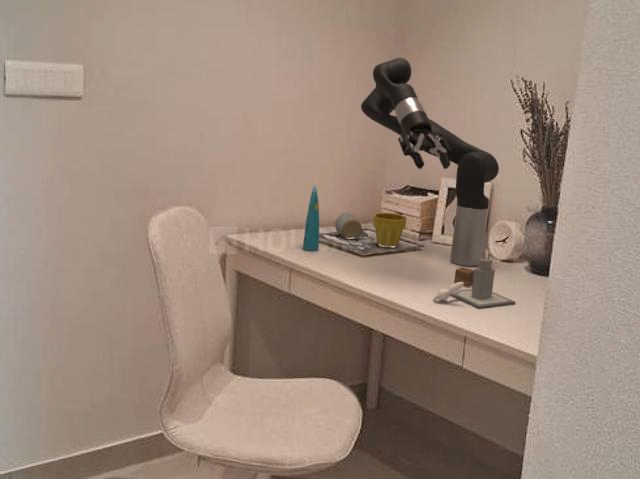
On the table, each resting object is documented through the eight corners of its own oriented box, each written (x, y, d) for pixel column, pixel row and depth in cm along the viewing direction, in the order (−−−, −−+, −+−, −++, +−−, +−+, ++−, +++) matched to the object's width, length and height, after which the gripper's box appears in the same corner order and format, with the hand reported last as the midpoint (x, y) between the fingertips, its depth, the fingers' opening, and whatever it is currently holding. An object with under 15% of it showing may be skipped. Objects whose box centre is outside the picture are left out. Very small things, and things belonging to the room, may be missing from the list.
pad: (482, 290, 187) (482, 287, 187) (515, 304, 177) (515, 301, 177) (446, 294, 182) (447, 291, 181) (478, 308, 171) (479, 306, 171)
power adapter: (492, 296, 180) (498, 250, 177) (480, 300, 176) (486, 253, 174) (482, 293, 182) (488, 247, 179) (469, 296, 179) (475, 250, 176)
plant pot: (405, 250, 224) (408, 220, 222) (372, 248, 224) (375, 218, 222) (401, 243, 234) (404, 214, 232) (370, 241, 234) (373, 211, 232)
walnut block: (461, 281, 195) (463, 267, 194) (474, 284, 192) (476, 270, 191) (454, 283, 192) (455, 269, 191) (467, 287, 189) (468, 273, 188)
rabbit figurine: (429, 297, 178) (458, 284, 179) (437, 311, 177) (465, 297, 177) (431, 291, 172) (461, 277, 173) (439, 305, 171) (468, 291, 172)
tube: (320, 252, 215) (325, 189, 210) (305, 252, 213) (309, 188, 209) (315, 246, 222) (320, 185, 217) (300, 246, 221) (304, 184, 216)
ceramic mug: (341, 240, 232) (343, 217, 230) (333, 234, 239) (335, 212, 238) (371, 241, 235) (374, 218, 233) (363, 235, 242) (365, 213, 241)
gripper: (398, 108, 187) (420, 158, 180) (440, 110, 194) (463, 158, 187) (384, 126, 193) (405, 175, 185) (426, 128, 200) (448, 175, 193)
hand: (434, 167), depth 186 cm, fingers open, 8 cm apart
